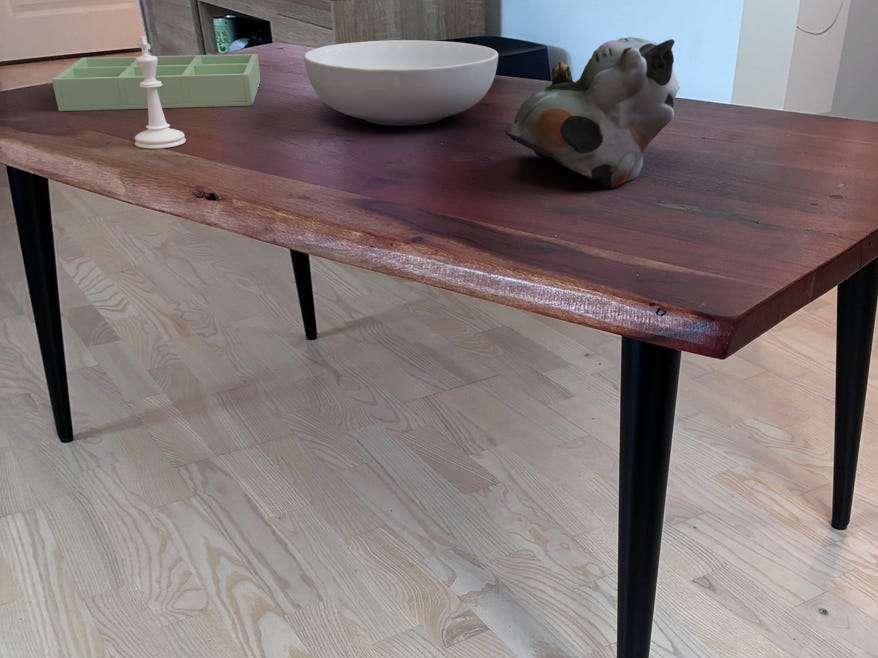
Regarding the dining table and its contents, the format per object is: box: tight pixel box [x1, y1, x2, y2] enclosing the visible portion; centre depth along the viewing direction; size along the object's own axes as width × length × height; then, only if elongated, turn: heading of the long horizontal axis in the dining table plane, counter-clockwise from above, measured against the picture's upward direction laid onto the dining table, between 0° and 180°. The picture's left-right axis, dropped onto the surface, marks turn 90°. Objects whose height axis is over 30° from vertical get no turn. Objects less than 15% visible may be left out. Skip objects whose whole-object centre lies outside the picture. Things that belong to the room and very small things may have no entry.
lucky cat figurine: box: [503, 36, 681, 189], centre depth 81 cm, size 15×12×14 cm
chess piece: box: [134, 35, 187, 150], centre depth 91 cm, size 5×5×10 cm
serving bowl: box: [303, 39, 499, 127], centre depth 101 cm, size 21×21×7 cm
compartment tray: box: [51, 53, 261, 112], centre depth 112 cm, size 22×15×4 cm
